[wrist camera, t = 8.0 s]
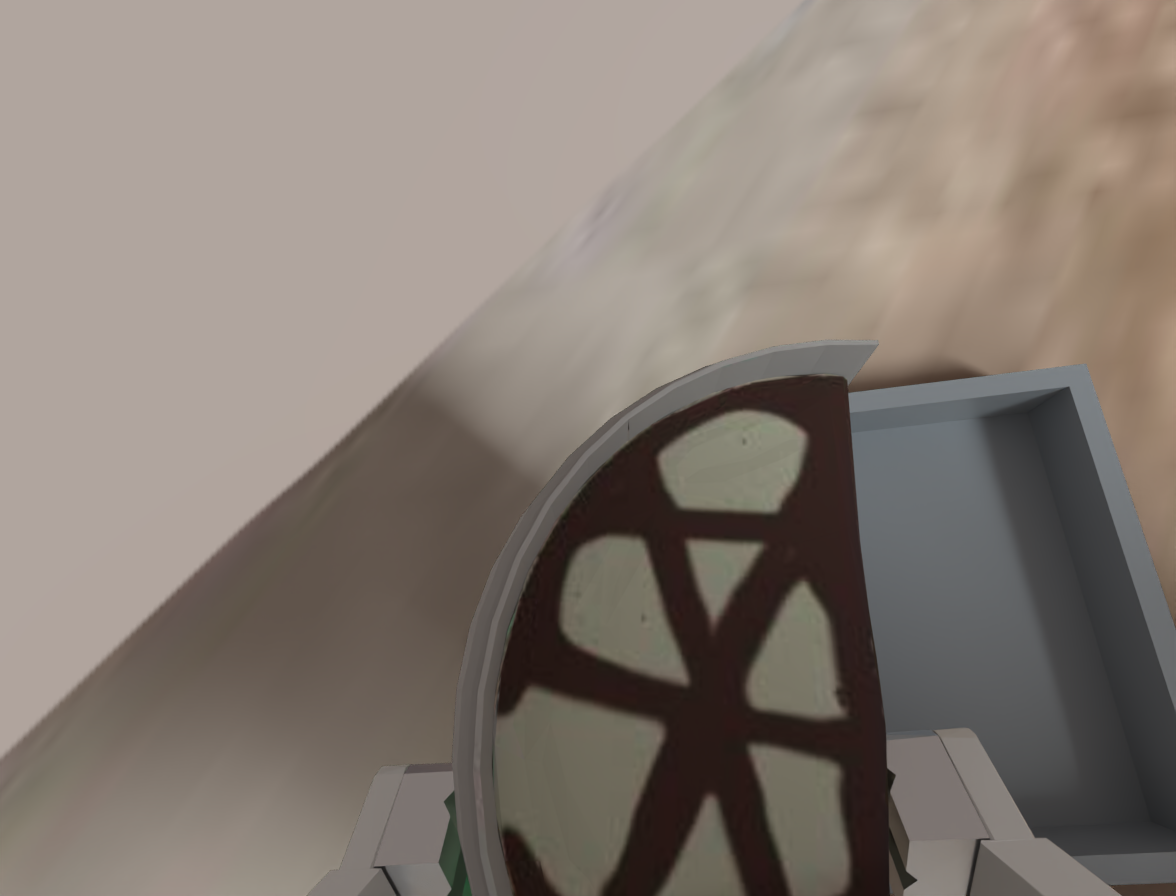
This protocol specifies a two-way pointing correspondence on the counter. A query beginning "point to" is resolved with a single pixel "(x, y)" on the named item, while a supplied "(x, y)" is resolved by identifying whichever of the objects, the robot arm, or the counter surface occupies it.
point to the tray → (1024, 604)
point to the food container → (684, 655)
